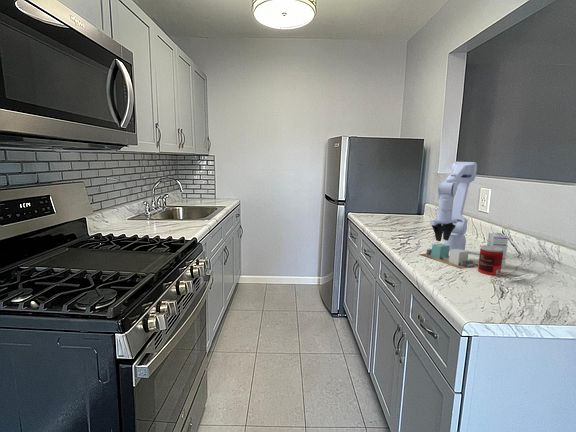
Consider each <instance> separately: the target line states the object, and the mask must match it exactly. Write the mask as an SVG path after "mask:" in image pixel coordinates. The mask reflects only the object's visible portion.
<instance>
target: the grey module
mask: <svg viewBox="0 0 576 432" xmlns="http://www.w3.org/2000/svg"><path fill="white" fill-rule="evenodd" d="M466 260H469V250H466V249H465V250H463V249H460V248H459V249H451V250H450V252H449V262H450V263H453V264H456V265H459V263H461V262H463V261H466Z"/></svg>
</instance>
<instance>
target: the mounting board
mask: <svg viewBox="0 0 576 432" xmlns="http://www.w3.org/2000/svg"><path fill="white" fill-rule="evenodd" d="M418 256H421V257H425V258H426V259H427V258H428V259H429V260H433V261H436V262H439V263H442V264H444V265H448V266H451V267H453V268H457V269H459V270H462V269H468V268H469V269H470V268H474V267H478V264H476V263H474V262H473V266H471V267H463V266H462V265H456V264H453V263H450V262H449V261H446V260H443V259H438V258H435V257H432V256H431V255H427V254H426V252H425V253H420V254H419V253H418Z"/></svg>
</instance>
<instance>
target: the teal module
mask: <svg viewBox="0 0 576 432" xmlns="http://www.w3.org/2000/svg"><path fill="white" fill-rule="evenodd" d="M449 248H450V246H449V245H445V244H444V243H432V245H431V249H432V253H431V256H432V257H435V258H438V259H440V258H441V257H442V256H449V255H450V252H449Z"/></svg>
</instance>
